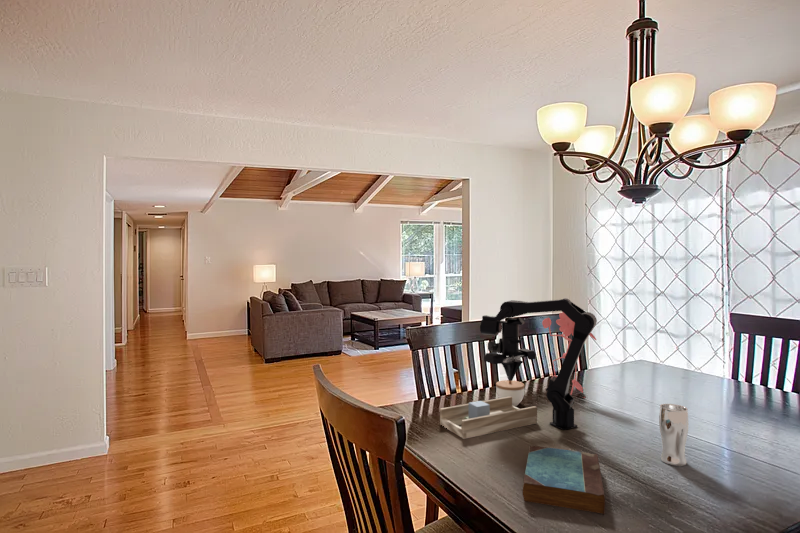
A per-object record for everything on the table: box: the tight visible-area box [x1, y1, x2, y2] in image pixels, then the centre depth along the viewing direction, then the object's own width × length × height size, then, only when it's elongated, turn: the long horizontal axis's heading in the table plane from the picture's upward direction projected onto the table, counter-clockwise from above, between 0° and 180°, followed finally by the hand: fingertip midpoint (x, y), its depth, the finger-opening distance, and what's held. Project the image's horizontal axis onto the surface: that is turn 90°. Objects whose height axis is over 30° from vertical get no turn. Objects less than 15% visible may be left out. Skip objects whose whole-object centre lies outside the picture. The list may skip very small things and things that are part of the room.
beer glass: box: [658, 403, 689, 467], centre depth 129 cm, size 7×7×15 cm
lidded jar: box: [495, 379, 526, 407], centre depth 181 cm, size 11×11×9 cm
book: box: [521, 445, 606, 516], centre depth 116 cm, size 23×18×5 cm
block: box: [468, 400, 490, 418], centre depth 157 cm, size 5×5×5 cm
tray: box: [439, 396, 538, 440], centre depth 159 cm, size 14×30×6 cm, turn 117°
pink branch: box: [541, 311, 597, 399], centre depth 199 cm, size 15×26×35 cm, turn 38°
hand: (510, 380), depth 165 cm, fingers closed
